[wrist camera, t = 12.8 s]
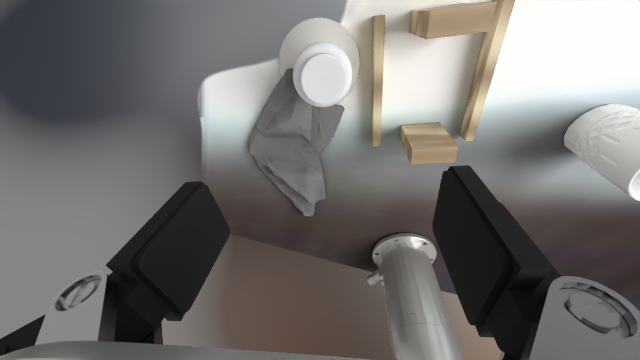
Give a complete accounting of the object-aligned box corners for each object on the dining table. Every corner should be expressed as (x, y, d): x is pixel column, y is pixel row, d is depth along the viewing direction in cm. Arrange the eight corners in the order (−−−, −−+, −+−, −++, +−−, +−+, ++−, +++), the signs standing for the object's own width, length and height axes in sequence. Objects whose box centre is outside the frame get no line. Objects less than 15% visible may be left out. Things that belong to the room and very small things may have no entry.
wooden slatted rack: (467, 133, 32) (492, 160, 26) (371, 140, 34) (376, 165, 28) (504, -3, 23) (554, -7, 18) (373, 16, 25) (380, 18, 20)
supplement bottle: (335, 97, 30) (345, 120, 21) (293, 87, 29) (285, 106, 20) (348, 49, 27) (366, 52, 18) (301, 36, 26) (297, 33, 17)
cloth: (245, 54, 28) (238, 57, 26) (355, 75, 28) (355, 81, 27) (251, 203, 44) (247, 212, 43) (321, 217, 44) (320, 226, 43)
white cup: (544, 136, 31) (611, 180, 23) (614, 85, 27) (727, 117, 19) (578, 164, 33) (651, 213, 25) (649, 120, 29) (765, 163, 21)
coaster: (329, 120, 33) (329, 121, 32) (266, 77, 30) (265, 78, 30) (377, 54, 27) (377, 54, 27) (305, -5, 25) (304, -5, 24)
